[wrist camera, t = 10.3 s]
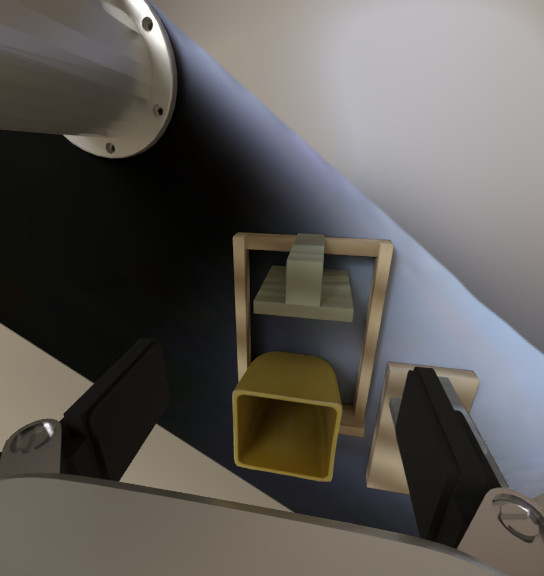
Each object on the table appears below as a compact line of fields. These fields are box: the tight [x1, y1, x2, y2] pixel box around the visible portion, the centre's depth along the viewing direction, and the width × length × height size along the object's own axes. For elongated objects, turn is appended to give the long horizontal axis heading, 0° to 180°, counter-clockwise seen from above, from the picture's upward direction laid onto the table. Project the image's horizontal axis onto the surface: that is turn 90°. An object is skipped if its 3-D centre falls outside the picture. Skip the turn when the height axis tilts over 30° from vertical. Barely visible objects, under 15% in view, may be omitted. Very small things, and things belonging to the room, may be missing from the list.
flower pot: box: [232, 351, 342, 482], centre depth 30 cm, size 9×9×9 cm
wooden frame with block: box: [233, 232, 394, 437], centre depth 28 cm, size 20×14×8 cm
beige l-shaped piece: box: [366, 362, 509, 494], centre depth 30 cm, size 17×8×10 cm, turn 179°
